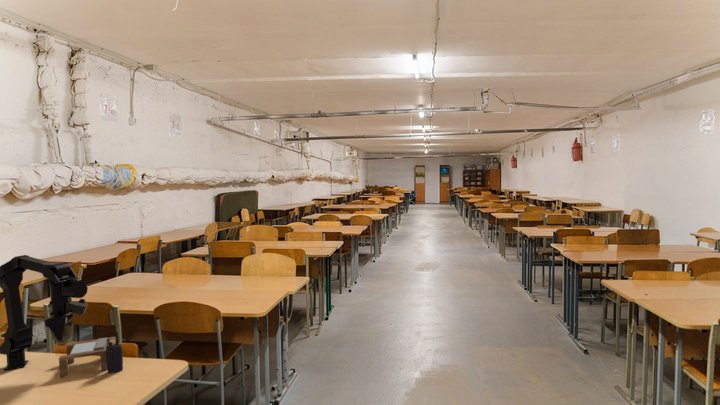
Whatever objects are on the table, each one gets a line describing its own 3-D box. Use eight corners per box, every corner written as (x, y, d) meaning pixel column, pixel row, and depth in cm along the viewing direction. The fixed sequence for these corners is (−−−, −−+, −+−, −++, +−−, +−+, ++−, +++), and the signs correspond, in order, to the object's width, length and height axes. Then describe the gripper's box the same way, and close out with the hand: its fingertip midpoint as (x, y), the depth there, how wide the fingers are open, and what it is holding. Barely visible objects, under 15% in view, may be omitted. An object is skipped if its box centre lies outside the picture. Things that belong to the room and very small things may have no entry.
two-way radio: (123, 367, 170) (121, 329, 169) (124, 371, 166) (122, 332, 165) (106, 371, 167) (104, 332, 166) (107, 375, 163) (105, 335, 162)
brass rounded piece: (62, 348, 162) (60, 327, 161) (45, 347, 163) (44, 326, 163) (79, 341, 169) (78, 320, 169) (63, 340, 171) (62, 320, 170)
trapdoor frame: (68, 362, 176) (67, 343, 176) (117, 354, 183) (116, 336, 183) (60, 378, 162) (58, 357, 161) (113, 369, 169) (112, 349, 168)
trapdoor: (75, 348, 175) (75, 342, 175) (107, 343, 179) (107, 337, 179) (70, 358, 165) (69, 351, 165) (104, 352, 169) (103, 346, 169)
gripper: (80, 299, 160) (82, 342, 161) (89, 288, 177) (91, 327, 178) (43, 303, 156) (45, 347, 156) (56, 292, 173) (58, 331, 174)
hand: (62, 337), depth 166 cm, fingers closed on brass rounded piece, 7 cm apart
